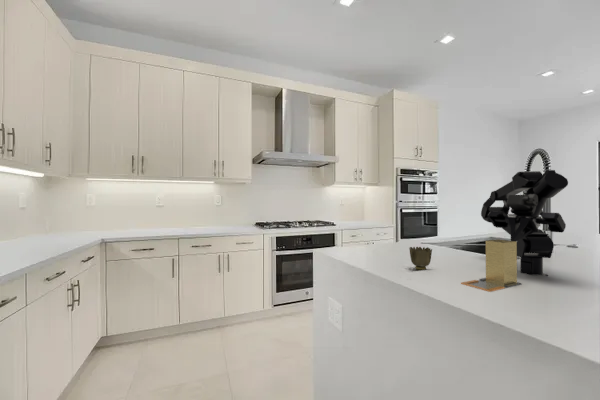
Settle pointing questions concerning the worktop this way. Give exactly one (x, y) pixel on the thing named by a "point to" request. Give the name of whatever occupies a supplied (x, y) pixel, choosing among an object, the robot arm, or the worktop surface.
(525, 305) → the worktop surface
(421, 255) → the cup
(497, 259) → the brass block
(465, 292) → the worktop surface
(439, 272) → the worktop surface
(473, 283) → the silver flat plate
